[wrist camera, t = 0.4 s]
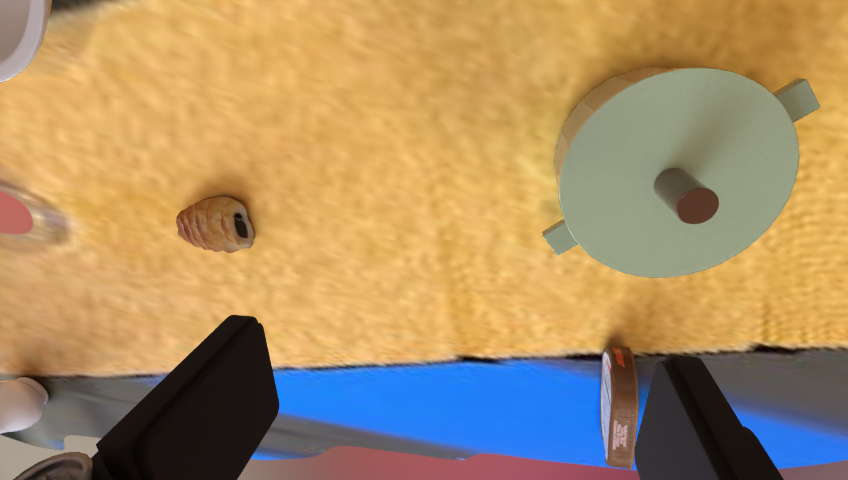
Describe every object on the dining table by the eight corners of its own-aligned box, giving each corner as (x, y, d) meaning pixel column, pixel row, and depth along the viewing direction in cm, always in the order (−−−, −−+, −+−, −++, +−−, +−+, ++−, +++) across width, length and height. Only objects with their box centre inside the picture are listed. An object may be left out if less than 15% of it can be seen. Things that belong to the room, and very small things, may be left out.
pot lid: (517, 158, 35) (519, 180, 30) (727, 12, 29) (779, 6, 23) (621, 302, 39) (640, 345, 34) (827, 202, 33) (893, 235, 27)
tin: (619, 426, 55) (637, 487, 48) (593, 425, 56) (607, 485, 48) (627, 330, 49) (648, 383, 42) (597, 330, 50) (613, 382, 42)
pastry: (195, 247, 55) (175, 261, 52) (176, 197, 52) (153, 208, 49) (261, 243, 53) (244, 257, 49) (244, 191, 50) (225, 202, 47)
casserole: (500, 155, 43) (499, 180, 36) (714, 3, 35) (770, -6, 27) (583, 268, 47) (598, 312, 39) (795, 154, 39) (864, 183, 31)
